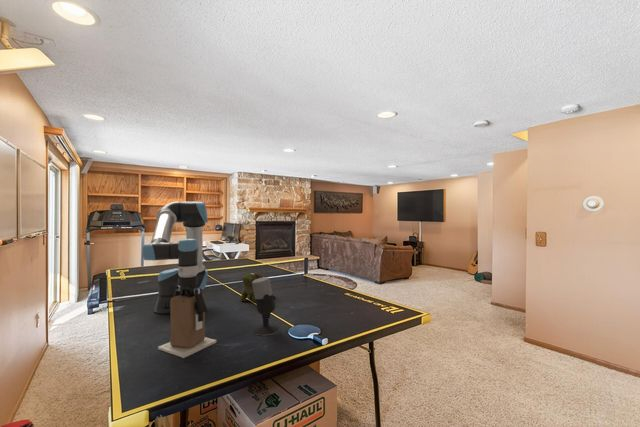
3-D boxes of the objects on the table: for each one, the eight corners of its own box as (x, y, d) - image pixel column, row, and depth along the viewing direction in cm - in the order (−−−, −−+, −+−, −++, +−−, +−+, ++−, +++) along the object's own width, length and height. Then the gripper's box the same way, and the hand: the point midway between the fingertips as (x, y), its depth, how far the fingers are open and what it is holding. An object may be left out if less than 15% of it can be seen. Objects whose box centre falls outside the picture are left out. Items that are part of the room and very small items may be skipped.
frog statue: (267, 303, 202) (255, 303, 178) (245, 301, 204) (230, 300, 181) (270, 275, 208) (259, 271, 184) (249, 273, 210) (235, 269, 186)
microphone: (251, 326, 146) (251, 276, 146) (277, 324, 149) (277, 274, 150) (252, 337, 133) (252, 281, 134) (281, 333, 137) (281, 279, 137)
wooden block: (190, 349, 119) (190, 299, 119) (169, 346, 121) (169, 297, 121) (205, 339, 128) (205, 292, 129) (185, 337, 131) (185, 291, 131)
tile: (158, 349, 121) (158, 346, 121) (191, 335, 135) (191, 332, 135) (183, 358, 114) (183, 355, 114) (216, 342, 128) (216, 339, 128)
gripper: (161, 274, 128) (161, 323, 127) (200, 280, 116) (200, 334, 115) (177, 271, 134) (177, 318, 134) (215, 276, 122) (215, 328, 122)
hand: (188, 326), depth 125 cm, fingers open, 13 cm apart
